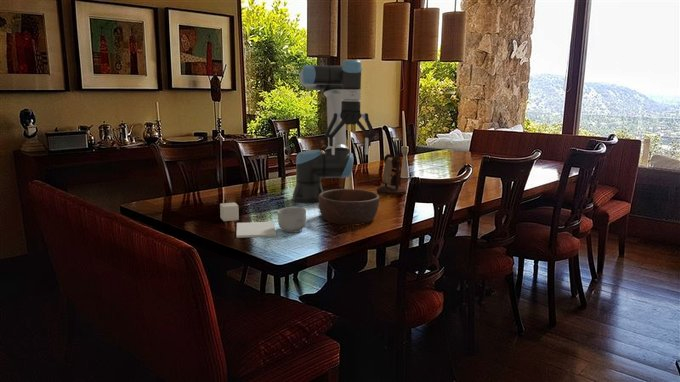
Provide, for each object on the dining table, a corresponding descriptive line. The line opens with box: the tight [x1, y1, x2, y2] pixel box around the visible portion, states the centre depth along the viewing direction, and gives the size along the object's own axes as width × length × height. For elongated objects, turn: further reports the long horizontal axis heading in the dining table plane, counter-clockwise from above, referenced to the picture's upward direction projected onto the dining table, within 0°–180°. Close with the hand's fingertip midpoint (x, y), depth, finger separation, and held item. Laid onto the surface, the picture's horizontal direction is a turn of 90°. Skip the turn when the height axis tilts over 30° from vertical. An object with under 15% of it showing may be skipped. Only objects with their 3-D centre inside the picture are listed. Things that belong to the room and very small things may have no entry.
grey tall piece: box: [376, 153, 407, 196], centre depth 258 cm, size 15×15×20 cm
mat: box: [236, 221, 277, 239], centre depth 194 cm, size 14×17×1 cm
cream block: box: [219, 202, 240, 222], centre depth 209 cm, size 6×6×6 cm
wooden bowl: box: [318, 188, 380, 226], centre depth 211 cm, size 25×25×10 cm
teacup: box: [276, 205, 307, 233], centre depth 195 cm, size 14×11×8 cm
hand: (349, 154), depth 207 cm, fingers open, 13 cm apart
